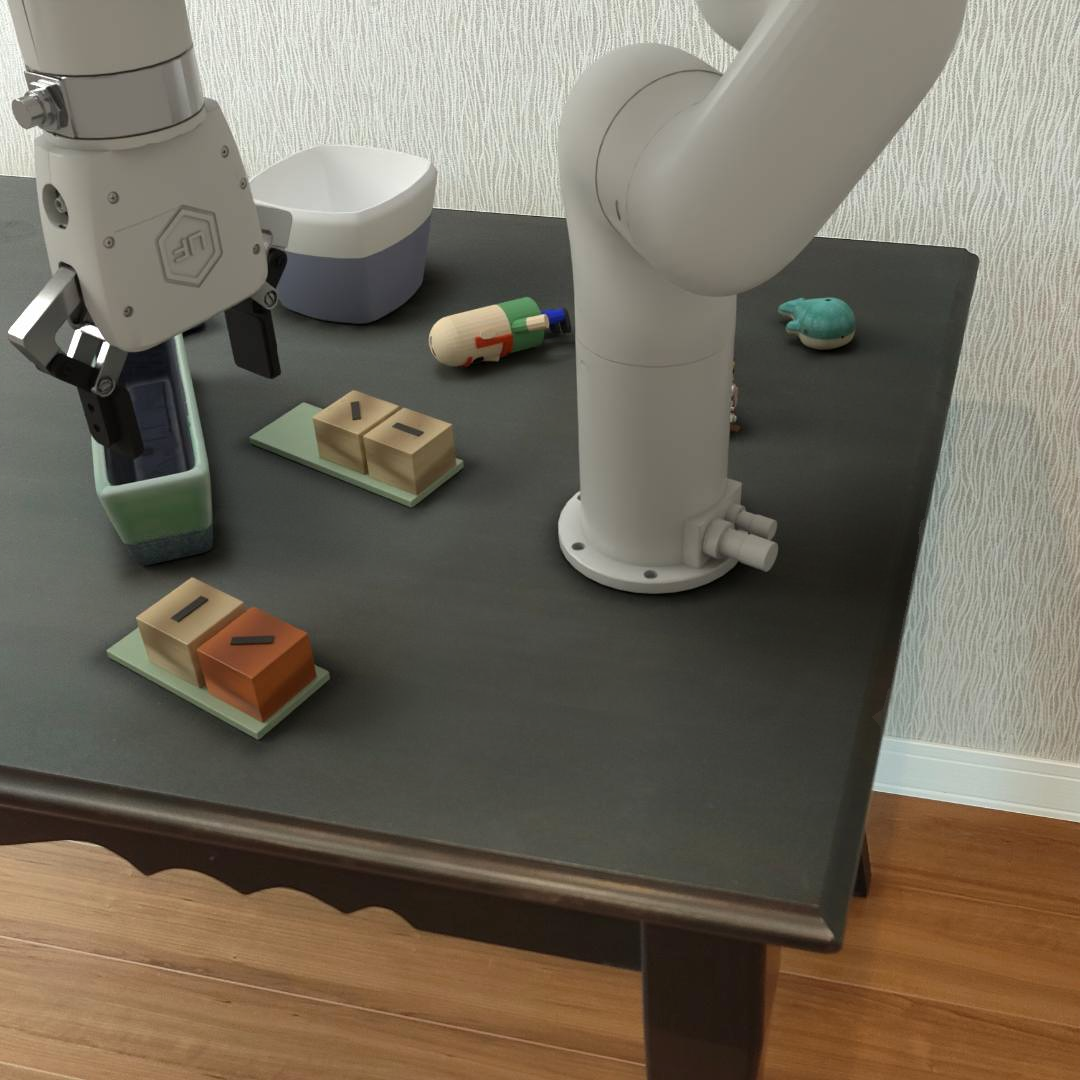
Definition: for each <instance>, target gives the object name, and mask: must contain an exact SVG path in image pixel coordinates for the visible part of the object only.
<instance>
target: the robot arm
mask: <svg viewBox="0 0 1080 1080" xmlns="http://www.w3.org/2000/svg"><path fill="white" fill-rule="evenodd" d="M6 2H7V6H8V9H9V13H10V16H11V20H12V23H13V27H14V31H15V35H16V39H17V43H18V47H19V50H20V53H21V56H22V60H23V63H24V68H25V70H24V71H23V75H24V78H25V82H26V86H27V91H25V93H24V95H23V96H20V97H18V98H14V99H13V100H12V101H11V111H12V114H13V116H14V119H15V120H16V122H17V124H18V125H19V126H20V127H21V128H22V129H24V130H29V129H32V128H35V127H38V128H39V129H41V130H42V134H41V135H39V136H37V137H35V138H34V139H33V150H34V151H33V153H34V154H33V155H34V157H33V158H34V169H35V170H34V172H35V173H34V175H35V184H36V185H35V186H36V193H37V201H38V208H39V209H38V210H39V217H40V223H41V228H42V234H43V239H44V244H45V248H46V252H47V259H48V263H49V267H50V271H51V275H52V277H51V278H50V279H49V281H47V283H46V284H45V285H44V287H42V288H41V290H40V291H39V292H38V293H37V295H36V296H35V298H33V300H32V301H31V302H30V304H29V305H28V306H27V307H25V309H24V311H23V312H22V313H21V314H20V315H19V317H18V318H17V319H16V321H15V322H13V324H12V325H11V326H10V328H9V330H8V332H7V340H8V341H9V343H10V344H11V345H12V346H13V347H14V348H15V349H16V350H17V351H19V352H20V354H22V356H24V357H25V358H26V359H27V360H28V361H29V362H30V363H33V365H34V366H35V368H36V369H37V370H38V371H39V372H42V373H44V374H46V375H48V376H49V377H50V376H51V377H52V378H54V379H56V380H59V381H62V382H64V383H66V384H69V385H72V386H74V387H76V389H77V392H78V396H79V398H80V404H81V406H82V410H83V413H84V417H85V420H86V423H87V427H88V430H89V434H90V436H91V435H92V437H93V438H94V440H95V441H96V442H97V443H99V444H101V445H103V446H105V447H107V448H109V449H111V450H113V451H116V452H118V453H120V454H122V455H124V456H126V457H128V458H130V459H133V460H134V459H136V458H138V457H139V456H141V455H142V454H143V451H144V445H143V441H142V438H141V434H140V430H139V426H138V423H137V419H136V415H135V411H134V408H133V404H132V400H131V396H130V393H129V391H128V390H127V389H126V388H124V387H122V386H119V385H117V382H118V379H119V377H120V374H121V371H122V368H123V365H124V363H125V360H126V357H127V354H128V352H140V351H144V350H147V349H150V348H152V347H154V346H156V345H158V344H161V343H163V342H165V341H167V340H169V339H171V338H173V337H175V336H177V335H179V334H181V333H182V334H183V333H185V332H187V331H189V330H188V329H190V328H192V327H194V326H196V325H198V324H200V323H202V322H204V323H205V322H206V321H208V320H209V319H211V318H213V317H215V316H217V315H219V314H221V313H223V314H224V319H225V322H226V328H227V332H228V338H229V342H230V343H229V344H230V347H231V353H232V357H233V361H234V363H235V365H236V367H238V368H240V369H242V370H245V371H247V372H250V373H252V374H255V375H258V376H260V377H264V378H265V379H269V380H274V379H276V378H277V377H279V376H281V374H282V370H281V363H280V358H279V353H278V343H277V342H278V341H277V339H276V338H277V337H276V332H275V331H276V330H275V327H274V321H273V315H272V310H273V309H275V308H276V307H277V306H278V303H279V301H280V299H279V294H278V291H277V290H276V287H277V285H278V283H279V281H280V278H281V276H282V274H283V271H284V269H285V267H286V264H287V255H286V253H285V252H284V251H285V248H287V246H288V241H289V235H290V230H291V225H292V214H291V213H290V212H288V211H286V210H282V209H279V208H276V207H272V206H267V205H262V204H257V203H254V200H253V196H252V192H251V188H250V185H249V181H248V180H249V179H248V175H247V171H246V169H245V165H244V163H243V159H242V156H241V153H240V151H239V148H238V145H237V143H236V140H235V138H234V135H233V133H232V130H231V128H230V126H229V123H228V121H227V119H226V117H225V114H224V112H223V109H222V107H221V105H220V104H219V102H218V101H217V100H215V99H213V98H210V97H206V96H204V92H203V87H202V81H201V76H200V71H199V66H198V61H197V60H198V59H197V56H196V50H195V45H194V41H193V35H192V32H191V31H192V30H191V26H190V20H189V16H188V11H187V10H188V9H187V6H186V1H185V0H6ZM695 3H696V6H697V9H698V10H699V12H700V14H701V16H702V18H703V19H704V21H705V22H706V24H707V25H708V26H709V28H710V29H711V30H713V32H714V33H715V34H716V35H717V36H718V37H719V38H720V39H721V40H722V41H724V42H726V43H727V45H729V46H730V47H732V48H733V49H735V50H736V51H737V52H738V53H737V54H736V55H735V57H734V59H733V60H732V61H731V63H729V65H728V67H727V68H726V69H725V71H724V72H721V71H719V70H718V69H716V68H715V67H713V66H712V65H711V64H709V63H707V62H706V61H705V60H703V59H701V58H700V57H698V56H696V55H694V54H692V53H690V52H688V51H686V50H684V49H682V48H678V47H675V46H672V45H667V44H662V43H657V42H636V43H632V44H627V45H622V46H620V47H617V48H615V49H612V50H610V51H608V52H606V53H605V54H603V55H601V56H600V57H598V58H597V59H596V60H594V61H593V62H592V63H591V64H590V65H589V66H588V67H587V68H586V69H585V70H584V71H583V72H581V73H582V74H581V75H580V76H579V77H578V79H577V80H576V82H574V84H573V86H572V88H571V90H570V91H569V94H568V96H567V98H566V100H565V103H564V105H563V109H562V113H561V116H560V119H559V126H558V131H557V132H558V133H557V167H558V175H559V182H560V190H561V196H562V202H563V210H564V215H565V221H566V227H567V233H568V239H569V247H570V248H569V249H570V256H571V257H570V258H571V267H572V280H573V298H574V299H573V300H574V328H575V329H574V335H575V339H574V341H575V368H576V371H575V372H576V401H577V402H576V403H577V430H578V431H577V432H578V462H579V463H578V464H579V467H578V468H579V490H578V491H577V492H576V493H575V494H574V495H572V497H571V498H570V499H568V501H567V502H566V503H565V505H564V507H563V508H562V509H561V511H560V515H559V518H558V522H557V525H558V526H557V528H558V531H557V532H558V533H557V534H558V542H559V548H560V551H561V552H562V554H563V555H564V558H565V559H566V561H568V562H569V564H570V565H571V566H572V567H573V568H574V569H575V570H577V571H578V572H579V573H581V574H582V575H583V576H585V577H586V578H588V579H590V580H593V581H595V582H596V583H598V584H600V585H603V586H606V587H609V588H613V589H615V590H619V591H623V592H629V593H636V594H651V595H652V594H653V595H659V594H673V593H679V592H684V591H689V590H692V589H696V588H698V587H701V586H704V585H708V584H710V583H712V582H713V581H715V580H717V579H719V578H721V577H723V576H724V575H726V574H728V572H729V571H730V570H732V569H733V568H734V567H736V565H737V564H738V563H741V564H743V565H746V566H749V567H752V568H754V569H757V570H760V571H762V572H765V573H766V572H769V571H770V570H771V569H772V567H773V566H774V564H775V562H776V559H777V556H778V554H779V553H778V552H779V544H778V543H777V542H775V541H772V540H773V538H774V536H775V535H776V532H777V528H778V521H777V520H775V519H773V518H770V517H768V516H767V517H766V516H764V515H761V514H755V513H752V512H749V511H747V509H746V507H745V506H744V505H742V488H743V487H742V486H743V483H742V482H740V481H738V480H735V479H732V478H730V477H728V470H729V453H730V435H731V434H730V415H731V396H732V376H733V362H734V361H733V357H734V358H735V356H734V355H735V336H736V335H735V334H736V329H737V328H736V326H737V304H738V303H737V302H738V301H737V300H738V295H739V294H742V293H745V292H748V291H750V290H753V289H755V288H757V287H758V286H761V285H762V284H765V283H766V282H767V281H769V280H770V279H772V278H773V277H775V276H776V275H778V274H779V273H780V272H781V271H783V270H784V269H785V268H786V267H787V266H788V265H789V264H790V263H791V262H792V261H794V260H795V259H796V257H797V256H799V254H801V252H802V251H804V249H805V248H806V247H807V246H808V245H809V243H811V241H812V240H813V239H814V238H815V237H816V236H817V234H818V233H819V232H820V231H821V229H823V227H824V226H825V224H826V223H827V222H828V221H829V219H830V218H831V217H832V216H833V215H834V213H835V212H836V211H837V210H838V208H839V207H840V206H841V205H842V203H843V202H844V201H845V199H846V198H847V197H848V196H849V194H850V193H851V192H852V190H854V188H855V187H856V186H857V184H858V183H859V182H860V180H861V179H862V178H863V177H864V176H865V174H866V173H867V172H868V171H869V169H870V168H871V167H872V166H873V164H874V163H875V161H876V160H877V159H878V158H879V157H880V155H881V154H882V153H883V152H884V150H886V148H887V147H888V146H889V144H890V143H891V141H892V140H893V139H894V138H895V136H896V135H897V134H898V133H899V132H900V130H901V129H902V127H903V126H904V125H905V124H906V122H907V121H908V120H909V118H910V117H911V116H912V115H913V113H914V112H915V111H916V110H917V109H918V107H919V106H920V104H921V103H922V101H923V100H924V99H925V98H926V96H927V95H928V94H929V92H930V90H931V89H933V87H934V85H935V83H936V82H937V81H938V80H939V77H940V76H941V74H942V72H943V71H944V69H945V67H946V66H947V64H948V62H949V60H950V57H951V55H952V53H953V51H954V49H955V46H956V44H957V40H958V37H959V35H960V33H961V30H962V26H963V23H964V19H965V15H966V10H967V6H968V0H695ZM66 321H67V323H68V325H69V327H70V329H72V330H73V331H74V333H73V336H72V338H71V341H70V345H69V347H68V350H67V352H66V353H65V352H64V351H63V350H62V348H61V347H60V346H59V345H58V343H57V342H56V334H57V333H58V331H59V329H60V328H61V327H62V326H63V325H64V323H66ZM186 330H187V331H186ZM190 330H191V329H190ZM100 340H102V341H104V342H103V345H102V347H101V350H100V353H99V356H98V358H97V361H96V364H95V367H92V366H91V365H92V362H93V359H94V357H95V354H96V351H97V348H98V345H99V343H100ZM733 377H734V376H733Z"/></svg>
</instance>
